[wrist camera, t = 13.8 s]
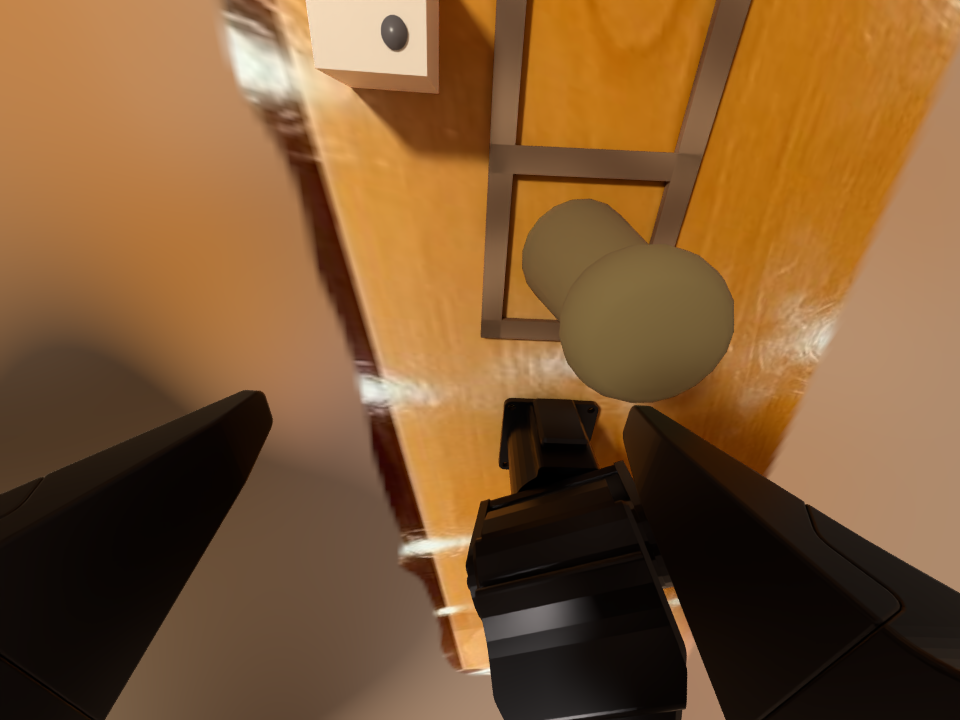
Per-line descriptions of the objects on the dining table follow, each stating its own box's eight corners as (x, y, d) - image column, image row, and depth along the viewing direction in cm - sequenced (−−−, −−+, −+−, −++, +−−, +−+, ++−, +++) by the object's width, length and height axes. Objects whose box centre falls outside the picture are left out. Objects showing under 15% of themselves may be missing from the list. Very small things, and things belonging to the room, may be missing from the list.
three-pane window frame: (641, 341, 22) (644, 344, 22) (480, 334, 22) (480, 337, 22) (973, -748, 8) (995, -789, 8) (534, -786, 8) (536, -830, 8)
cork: (647, 206, 18) (826, 258, 9) (612, 313, 21) (716, 440, 12) (532, 191, 18) (588, 228, 8) (513, 302, 21) (538, 422, 11)
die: (439, 94, 16) (426, 76, 13) (351, 87, 16) (314, 67, 12) (439, -30, 14) (424, -94, 11) (339, -38, 14) (290, -105, 10)
